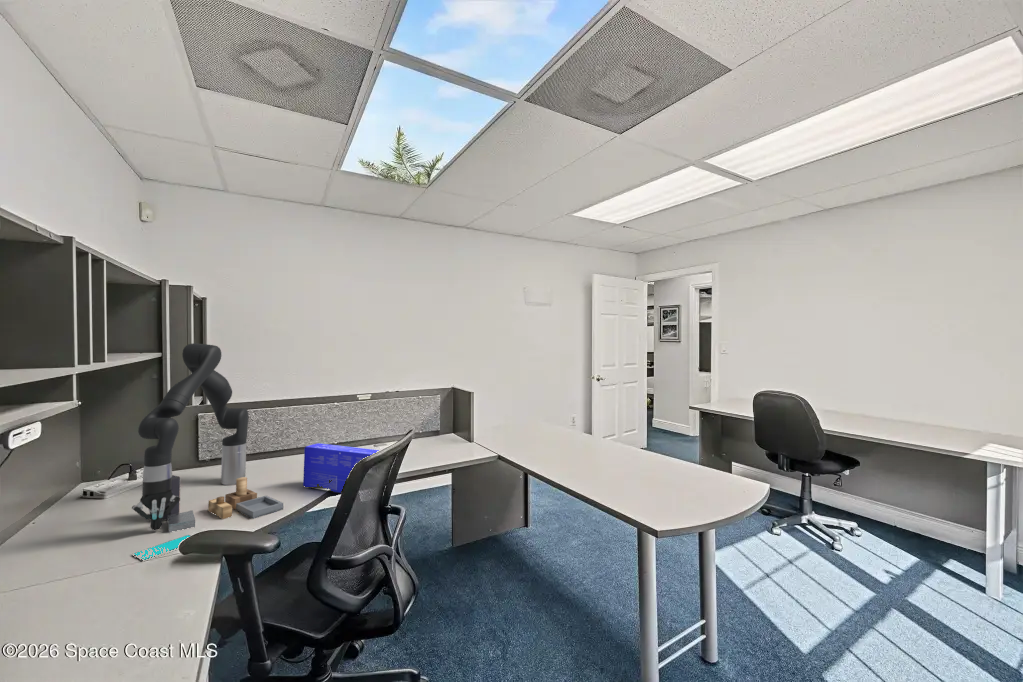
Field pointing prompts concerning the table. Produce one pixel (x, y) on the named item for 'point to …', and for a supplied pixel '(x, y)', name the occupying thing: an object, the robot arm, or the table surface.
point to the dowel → (241, 486)
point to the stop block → (220, 507)
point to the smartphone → (170, 545)
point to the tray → (259, 506)
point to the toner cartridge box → (330, 464)
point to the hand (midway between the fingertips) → (156, 529)
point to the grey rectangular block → (181, 521)
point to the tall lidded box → (176, 492)
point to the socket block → (239, 498)
